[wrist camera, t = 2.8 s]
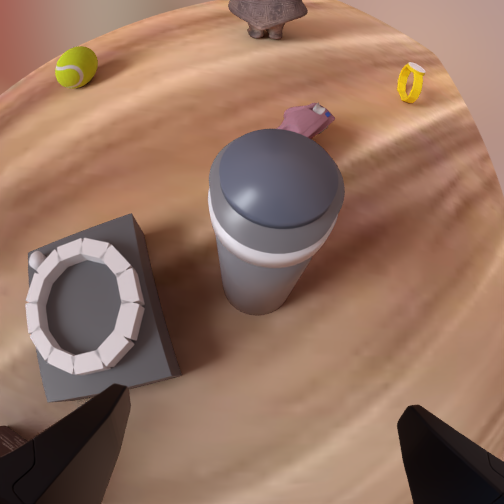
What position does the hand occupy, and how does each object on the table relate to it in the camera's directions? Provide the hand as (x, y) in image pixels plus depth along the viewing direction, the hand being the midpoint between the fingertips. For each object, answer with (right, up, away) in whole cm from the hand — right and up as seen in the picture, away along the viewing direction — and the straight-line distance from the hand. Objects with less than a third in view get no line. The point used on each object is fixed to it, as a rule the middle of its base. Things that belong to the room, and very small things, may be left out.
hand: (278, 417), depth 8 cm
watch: (+22, +28, +27) cm, 45 cm away
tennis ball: (-26, +30, +26) cm, 48 cm away
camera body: (-13, 0, +13) cm, 18 cm away
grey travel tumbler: (0, +2, +15) cm, 15 cm away
